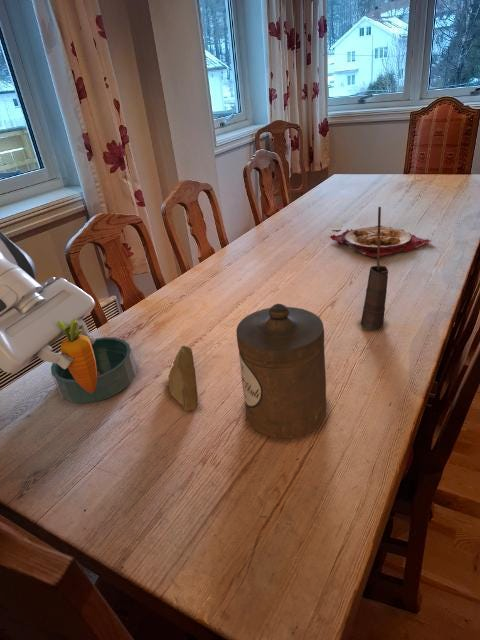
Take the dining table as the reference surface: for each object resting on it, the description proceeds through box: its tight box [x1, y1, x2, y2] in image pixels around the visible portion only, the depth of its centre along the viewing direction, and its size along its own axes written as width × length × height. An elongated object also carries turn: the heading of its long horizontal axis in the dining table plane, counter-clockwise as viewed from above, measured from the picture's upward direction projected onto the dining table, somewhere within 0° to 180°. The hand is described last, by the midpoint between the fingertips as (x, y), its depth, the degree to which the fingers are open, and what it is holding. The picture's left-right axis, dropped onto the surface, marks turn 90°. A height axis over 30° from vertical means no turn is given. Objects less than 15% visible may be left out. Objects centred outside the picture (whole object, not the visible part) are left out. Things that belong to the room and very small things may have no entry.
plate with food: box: [329, 225, 433, 258], centre depth 149 cm, size 24×26×4 cm
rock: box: [166, 345, 199, 412], centre depth 85 cm, size 11×9×10 cm
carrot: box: [57, 318, 97, 393], centre depth 72 cm, size 5×5×15 cm
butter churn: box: [360, 206, 389, 331], centre depth 95 cm, size 9×10×28 cm
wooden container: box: [235, 303, 327, 439], centre depth 74 cm, size 15×15×22 cm
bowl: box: [50, 336, 137, 404], centre depth 93 cm, size 17×17×6 cm
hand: (81, 354), depth 72 cm, fingers closed on carrot, 5 cm apart
